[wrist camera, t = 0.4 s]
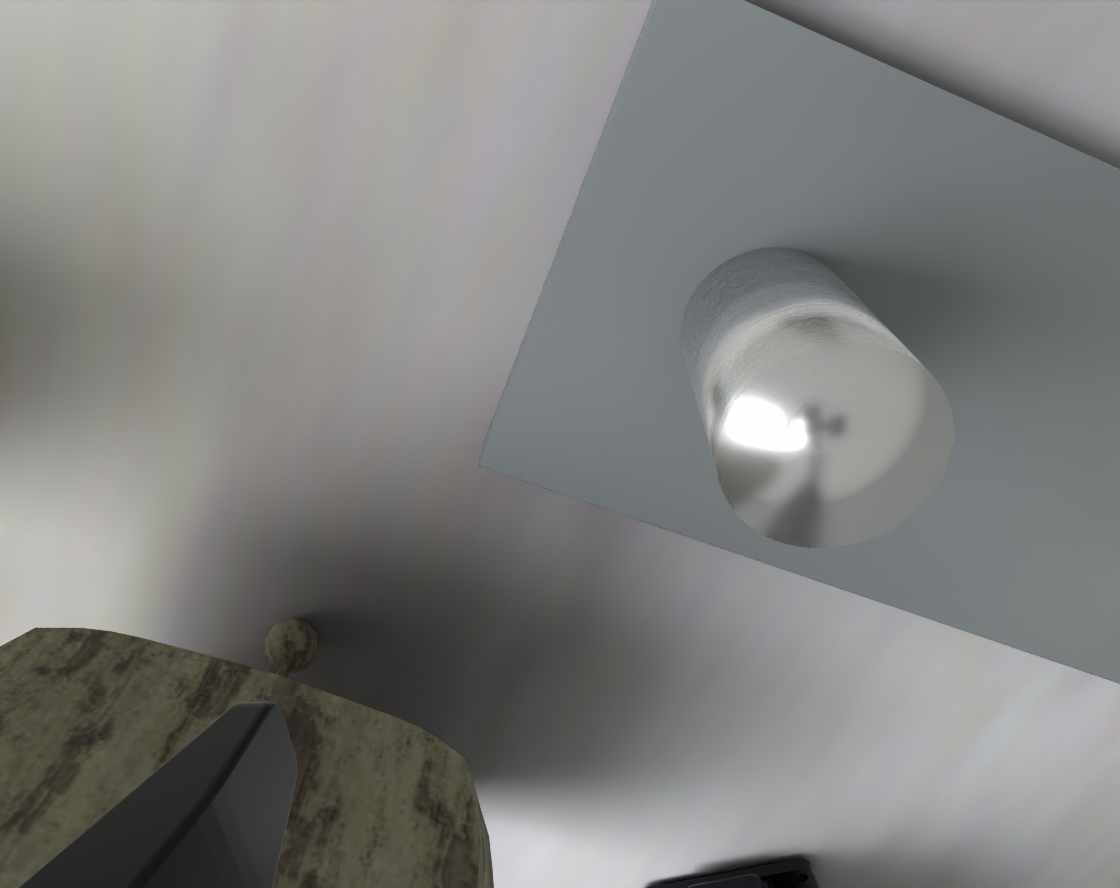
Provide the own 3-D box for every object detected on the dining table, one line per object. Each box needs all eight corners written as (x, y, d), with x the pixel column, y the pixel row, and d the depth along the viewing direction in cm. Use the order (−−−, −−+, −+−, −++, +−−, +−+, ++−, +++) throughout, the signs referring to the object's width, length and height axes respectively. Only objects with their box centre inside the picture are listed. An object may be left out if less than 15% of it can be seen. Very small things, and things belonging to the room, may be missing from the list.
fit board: (1603, 390, 21) (2055, 558, 14) (1254, 709, 26) (1471, 935, 20) (664, -30, 17) (711, -56, 11) (483, 444, 22) (442, 616, 16)
